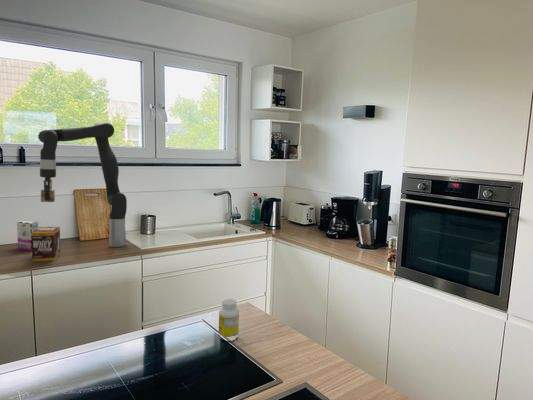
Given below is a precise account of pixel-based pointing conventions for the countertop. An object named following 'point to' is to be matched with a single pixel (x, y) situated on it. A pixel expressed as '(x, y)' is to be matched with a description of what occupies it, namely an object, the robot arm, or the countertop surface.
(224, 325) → the supplement bottle
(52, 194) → the walnut block
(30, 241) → the candy bar box
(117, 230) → the robot arm
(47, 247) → the supplement box
